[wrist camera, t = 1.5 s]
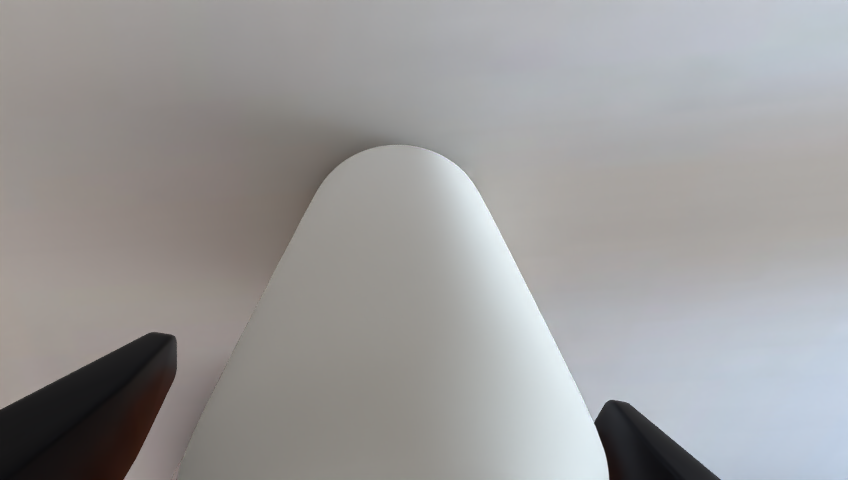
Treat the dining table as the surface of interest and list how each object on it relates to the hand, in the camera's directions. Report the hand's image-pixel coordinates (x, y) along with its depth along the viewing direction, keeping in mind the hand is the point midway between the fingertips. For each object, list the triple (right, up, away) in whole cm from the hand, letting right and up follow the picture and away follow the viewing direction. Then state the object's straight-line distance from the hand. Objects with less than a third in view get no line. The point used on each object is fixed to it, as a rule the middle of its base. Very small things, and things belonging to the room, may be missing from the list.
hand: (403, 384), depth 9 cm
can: (0, +4, +7) cm, 8 cm away
